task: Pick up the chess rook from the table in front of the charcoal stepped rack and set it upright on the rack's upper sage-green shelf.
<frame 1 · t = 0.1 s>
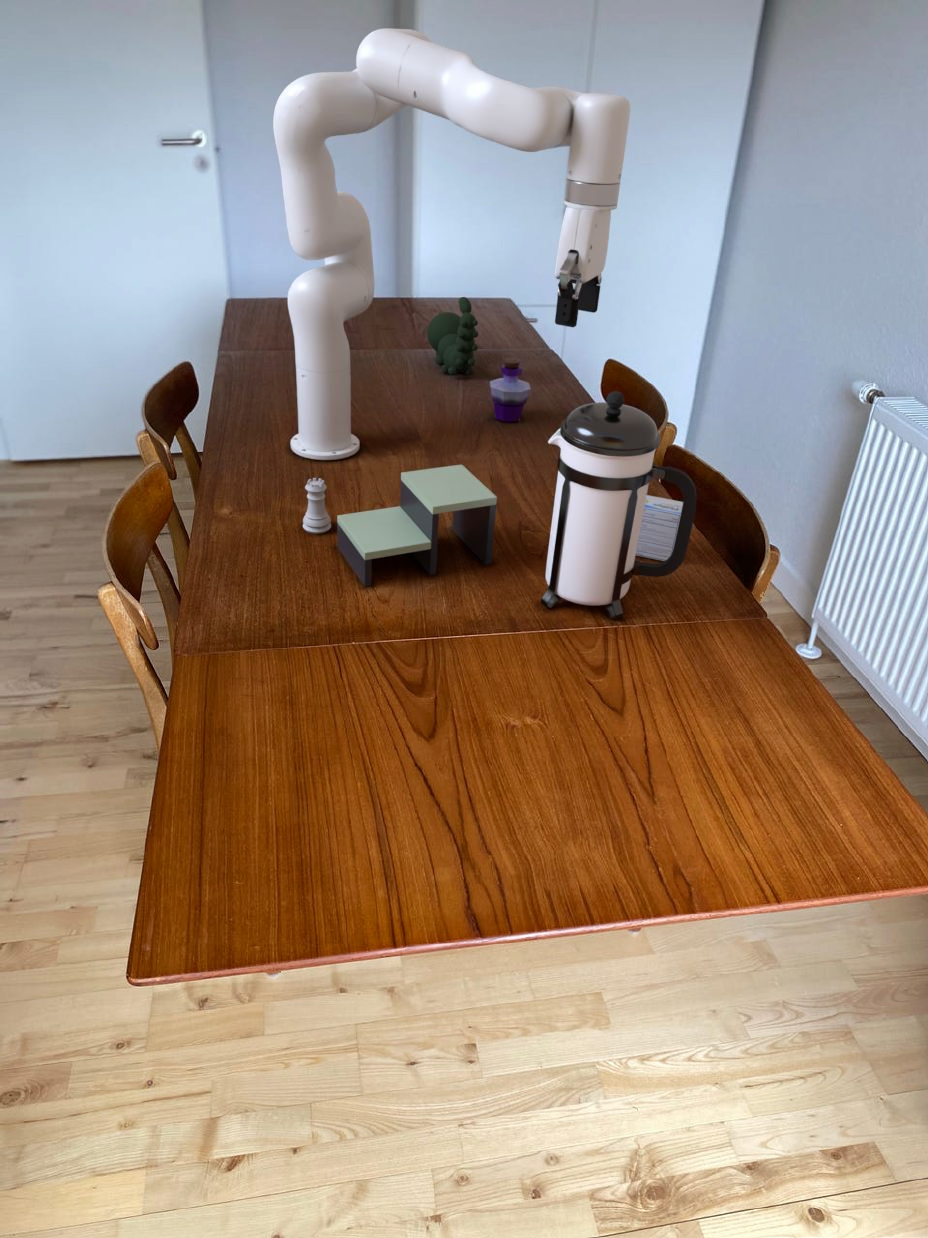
hand: (576, 317, 139), 31 cm above the table, tool pointing down, fingers open, 9 cm apart
medicine box: (648, 553, 144), on the table
rook chess piece: (317, 529, 144), on the table
toy figurine: (451, 368, 214), on the table
potion bottle: (507, 418, 189), on the table
coffee press: (593, 596, 132), on the table
rack: (414, 555, 139), on the table
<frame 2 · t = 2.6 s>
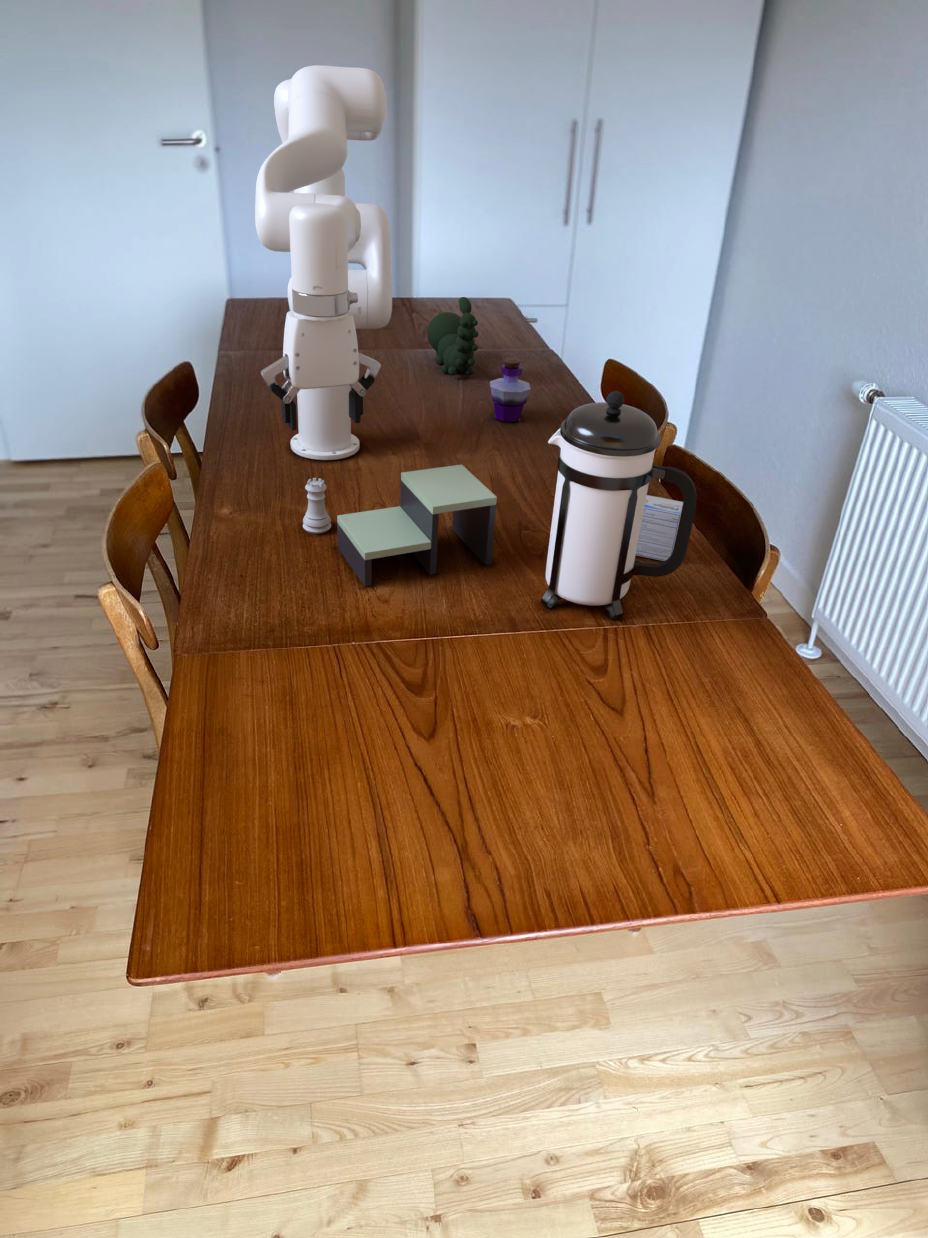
hand: (323, 423, 135), 17 cm above the table, tool pointing down, fingers open, 9 cm apart
nothing on the table moved.
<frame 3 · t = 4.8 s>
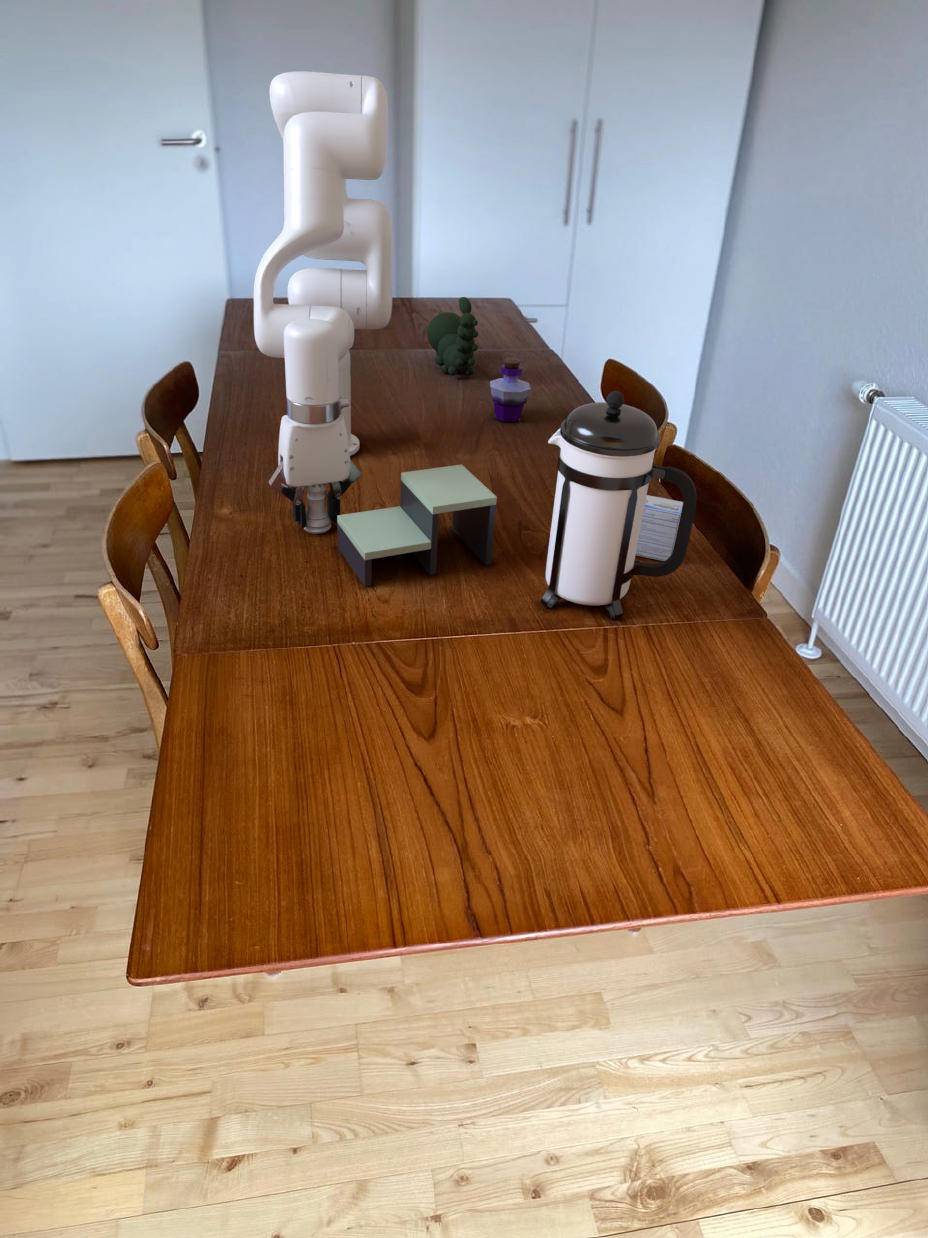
hand: (316, 520, 143), 1 cm above the table, tool pointing down, fingers closed on rook chess piece, 4 cm apart
rook chess piece: (317, 529, 144), on the table, touching gripper
everything else where it was.
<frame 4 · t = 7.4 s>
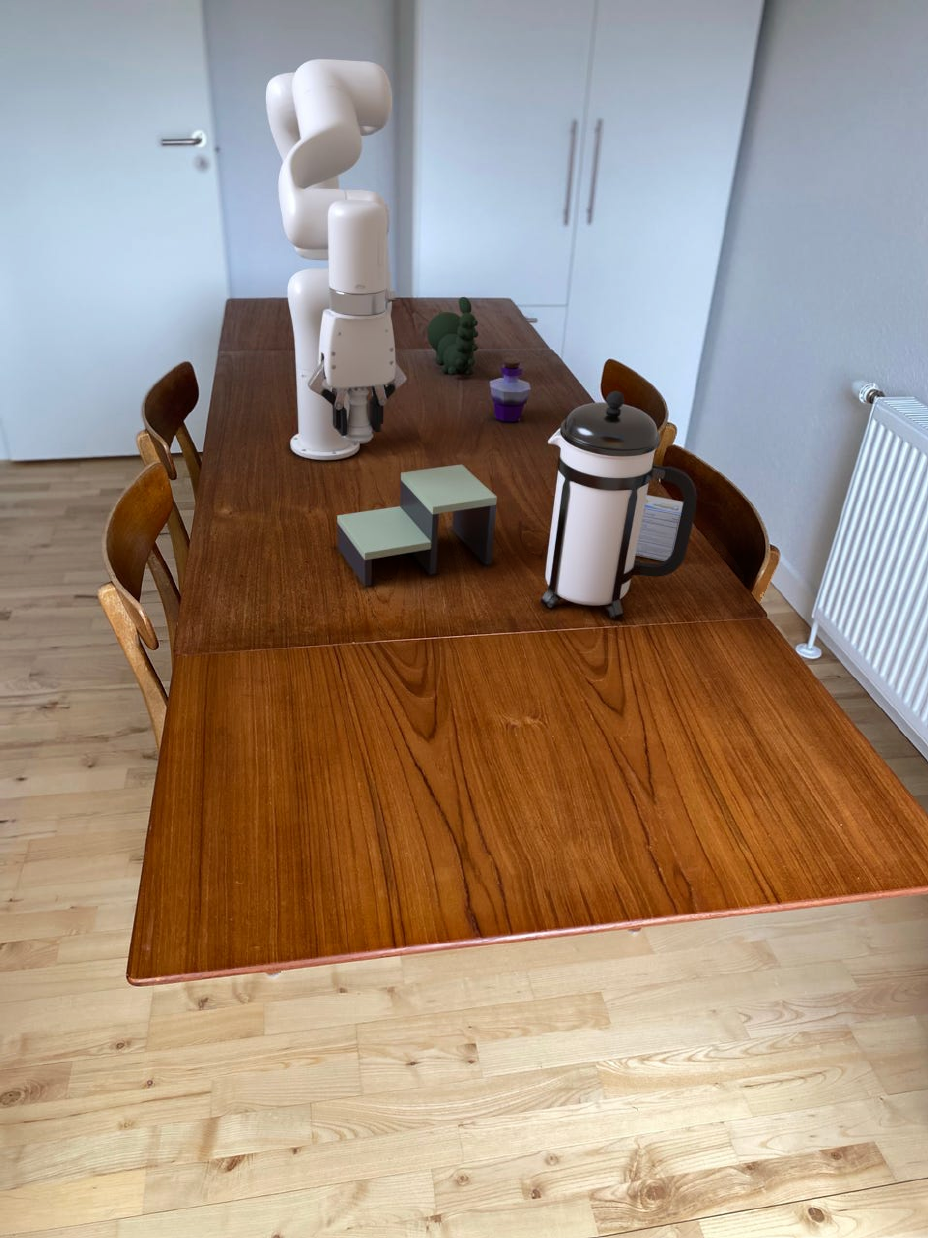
hand: (358, 429, 133), 17 cm above the table, tool pointing down, fingers closed on rook chess piece, 4 cm apart
rook chess piece: (358, 439, 134), point 16 cm above the table, touching gripper
everything else where it was.
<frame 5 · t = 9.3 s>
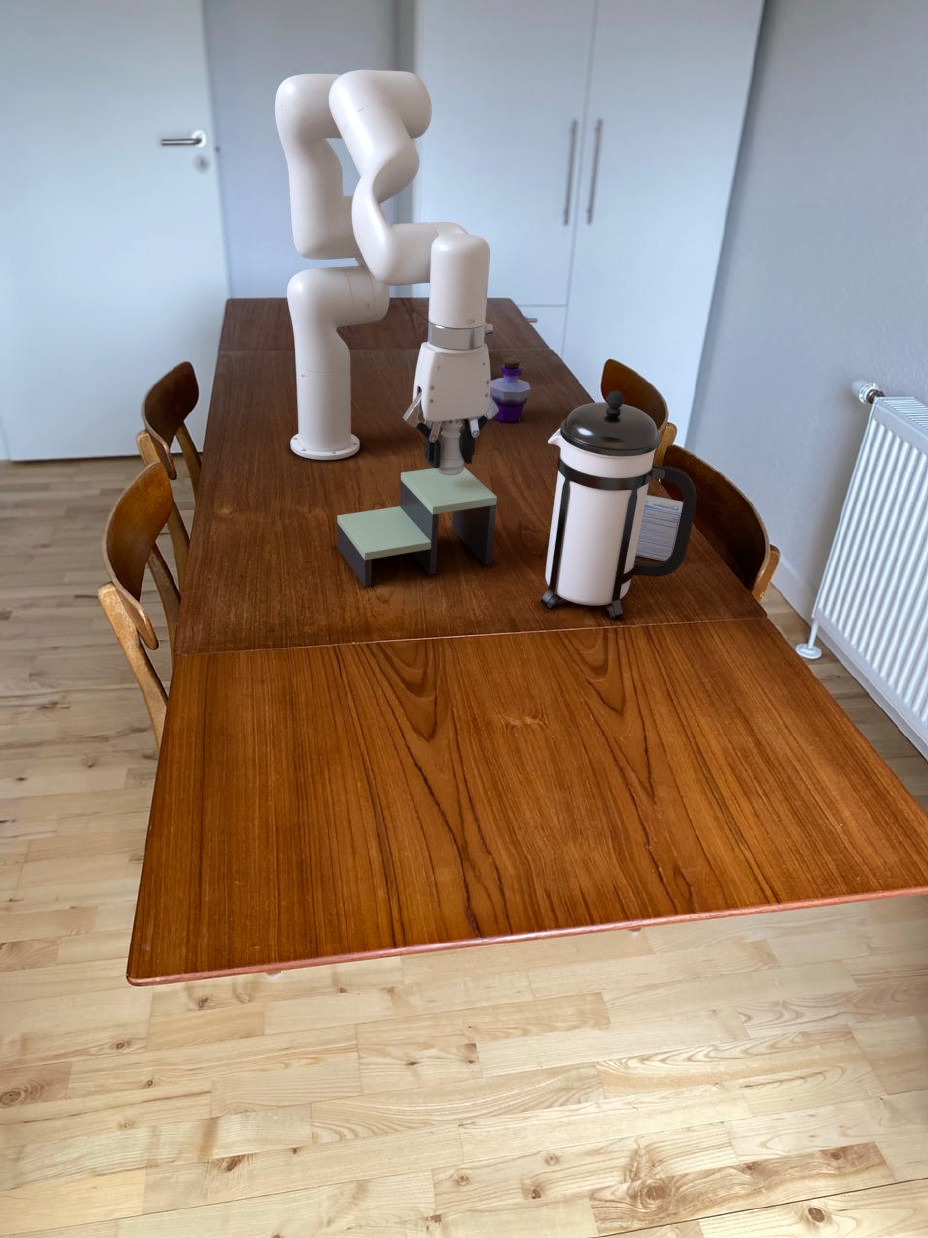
hand: (449, 461, 133), 15 cm above the table, tool pointing down, fingers closed on rook chess piece, 4 cm apart
rook chess piece: (448, 471, 133), point 13 cm above the table, touching gripper
everything else where it was.
when the fingers open (12 cm above the table, at t = 10.3 s): rook chess piece stays where it is, resting on rack.
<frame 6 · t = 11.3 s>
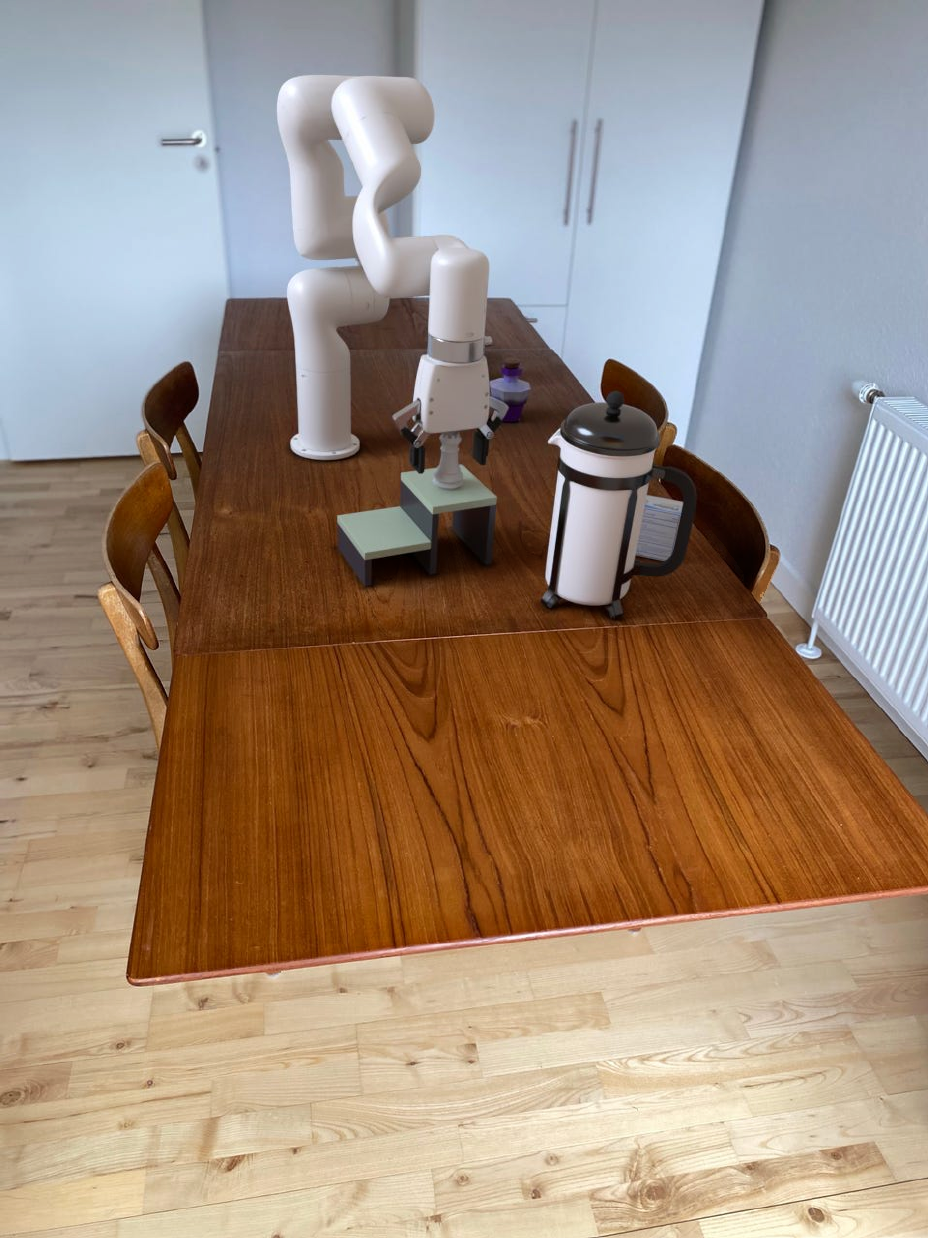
hand: (448, 465, 133), 14 cm above the table, tool pointing down, fingers open, 9 cm apart
rook chess piece: (447, 485, 135), point 11 cm above the table, touching rack
everything else where it was.
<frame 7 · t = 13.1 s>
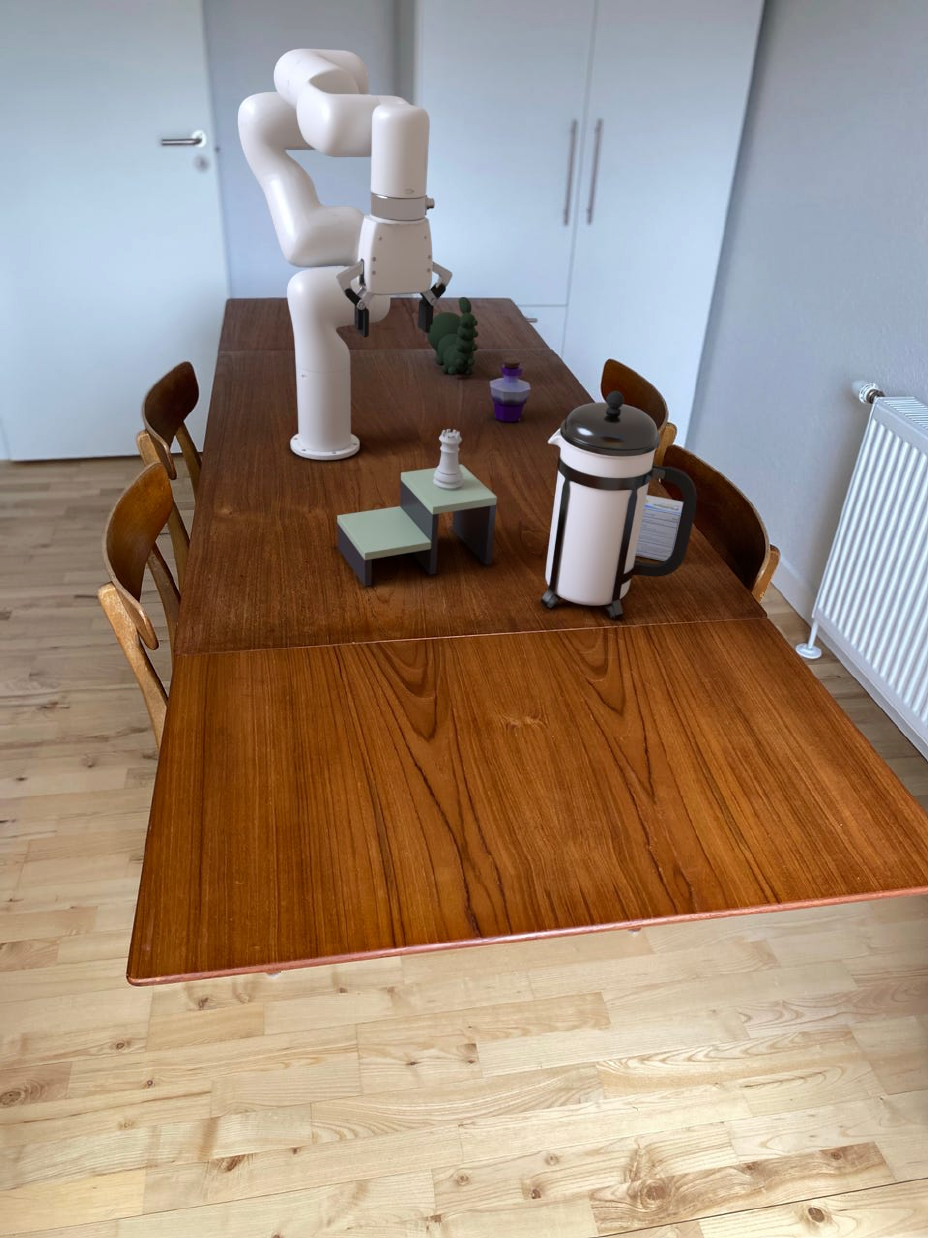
hand: (393, 331, 136), 29 cm above the table, tool pointing down, fingers open, 9 cm apart
nothing on the table moved.
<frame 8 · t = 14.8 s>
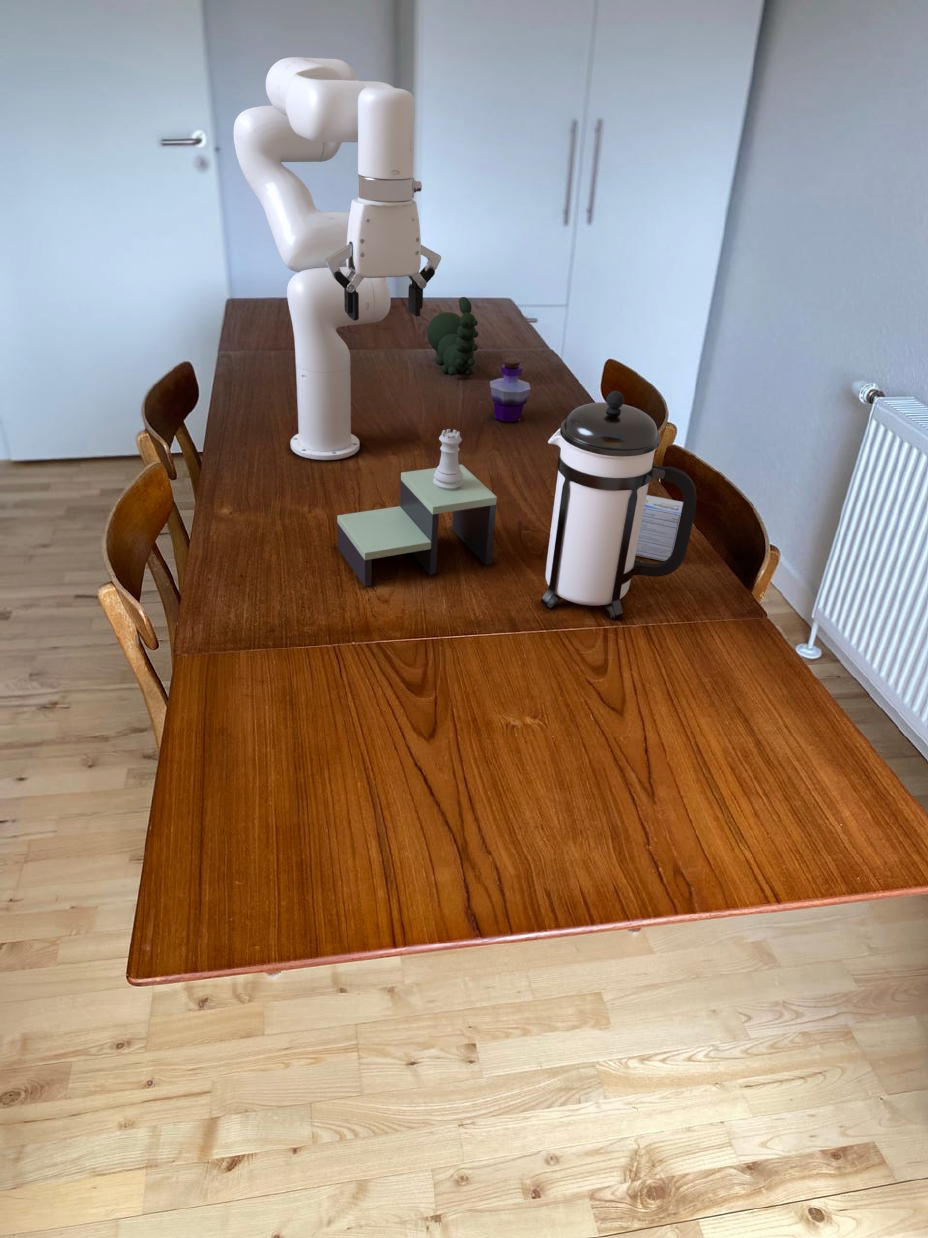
hand: (383, 315, 137), 30 cm above the table, tool pointing down, fingers open, 9 cm apart
nothing on the table moved.
at the end: rook chess piece inside the target area on the rack (0.2 cm from its centre), point 10.8 cm above the rack's base; rook chess piece tilted 0°; the gripper is holding nothing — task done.
